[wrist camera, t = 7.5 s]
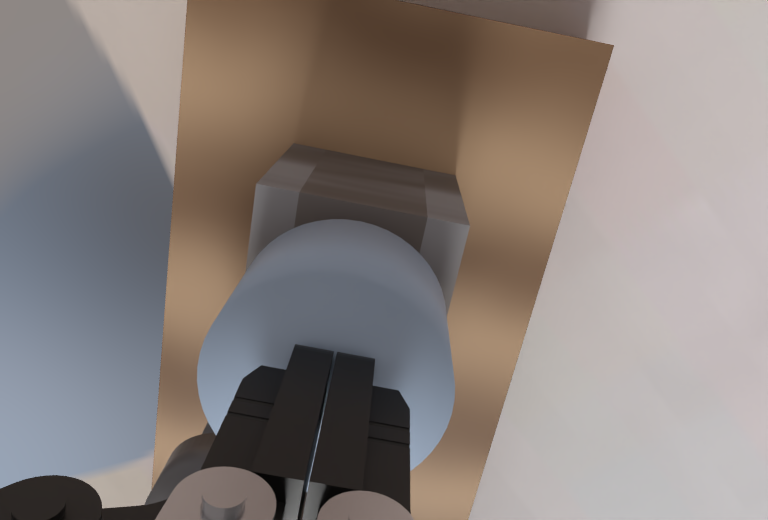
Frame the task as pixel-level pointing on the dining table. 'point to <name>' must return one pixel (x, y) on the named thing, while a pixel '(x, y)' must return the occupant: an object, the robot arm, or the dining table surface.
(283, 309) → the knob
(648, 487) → the dining table surface
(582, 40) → the mount
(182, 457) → the pot post
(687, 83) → the dining table surface
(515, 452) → the dining table surface
